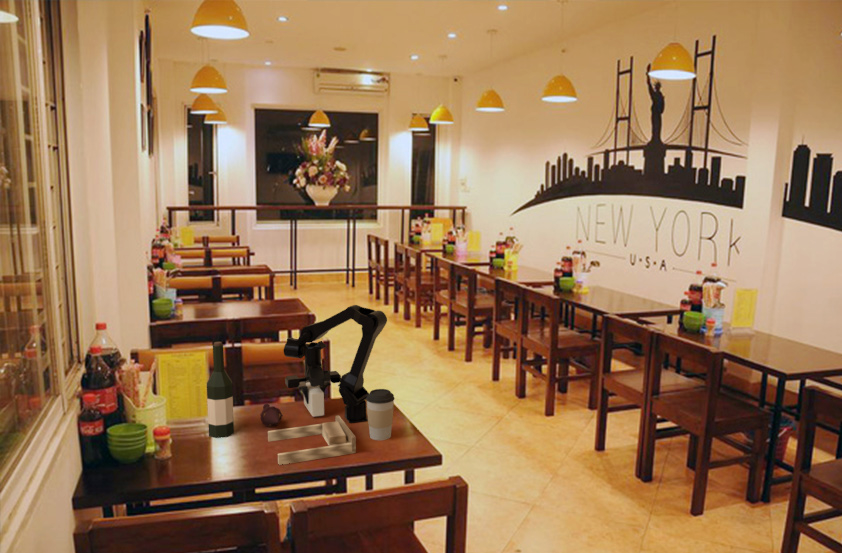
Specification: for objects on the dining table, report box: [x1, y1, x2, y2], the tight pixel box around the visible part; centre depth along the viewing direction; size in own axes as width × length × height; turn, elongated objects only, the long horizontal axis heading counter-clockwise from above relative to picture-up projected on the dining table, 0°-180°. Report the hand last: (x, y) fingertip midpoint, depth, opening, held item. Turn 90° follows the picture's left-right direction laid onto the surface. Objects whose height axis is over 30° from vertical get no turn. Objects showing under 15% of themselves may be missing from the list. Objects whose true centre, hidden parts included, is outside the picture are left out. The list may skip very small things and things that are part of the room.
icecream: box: [260, 403, 283, 428], centre depth 213 cm, size 7×7×15 cm
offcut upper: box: [321, 420, 346, 446], centre depth 199 cm, size 5×12×2 cm, turn 19°
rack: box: [267, 415, 357, 466], centre depth 196 cm, size 23×19×5 cm
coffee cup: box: [365, 388, 395, 441], centre depth 204 cm, size 9×9×15 cm
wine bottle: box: [206, 341, 235, 439], centre depth 205 cm, size 8×8×30 cm
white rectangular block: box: [303, 382, 325, 417], centre depth 226 cm, size 4×14×8 cm, turn 22°
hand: (313, 402), depth 226 cm, fingers closed on white rectangular block, 4 cm apart
